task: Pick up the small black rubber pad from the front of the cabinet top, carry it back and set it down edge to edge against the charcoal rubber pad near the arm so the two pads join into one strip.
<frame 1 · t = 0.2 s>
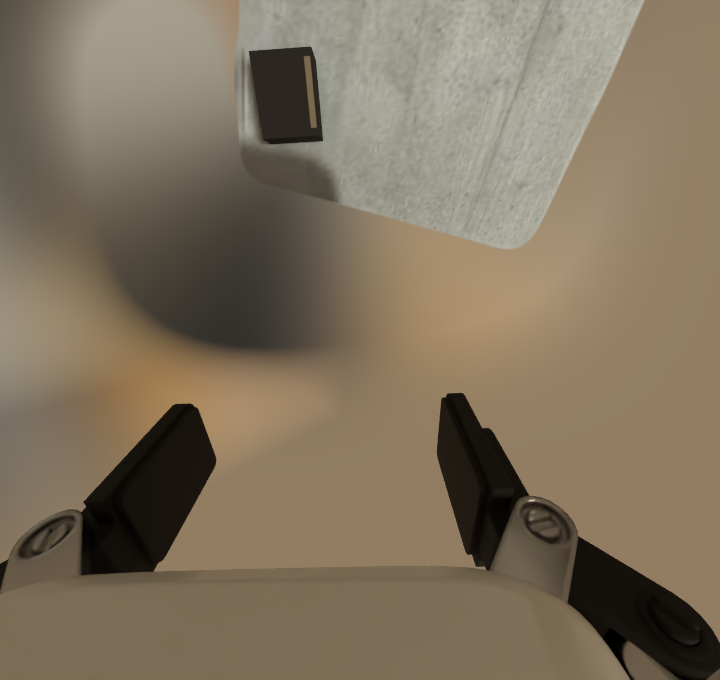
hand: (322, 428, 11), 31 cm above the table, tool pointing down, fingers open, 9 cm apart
charcoal pad: (292, 104, 32), on the table
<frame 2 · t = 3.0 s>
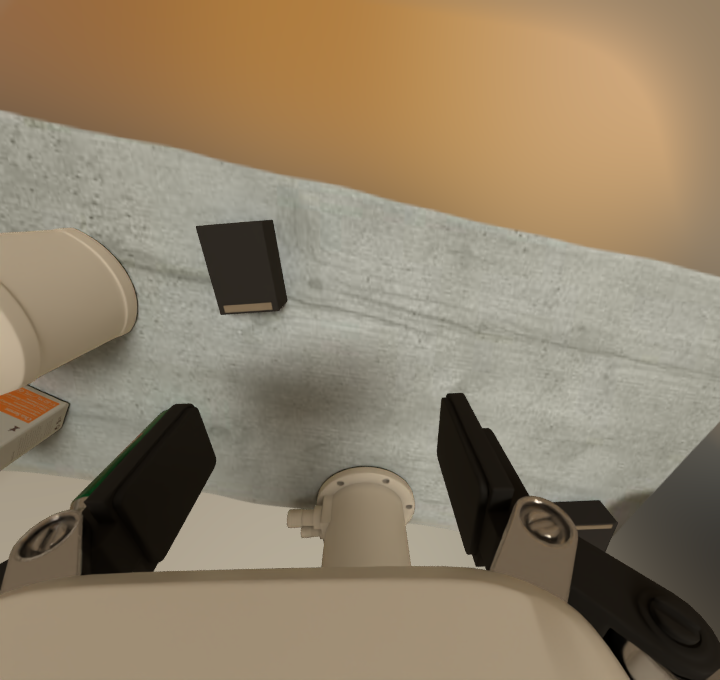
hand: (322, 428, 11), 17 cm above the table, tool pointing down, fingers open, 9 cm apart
black pad: (252, 264, 26), on the table
soda can: (183, 422, 33), on the table
jar: (75, 288, 27), on the table
charcoal pad: (567, 516, 39), on the table
cosmetic box: (39, 401, 32), on the table
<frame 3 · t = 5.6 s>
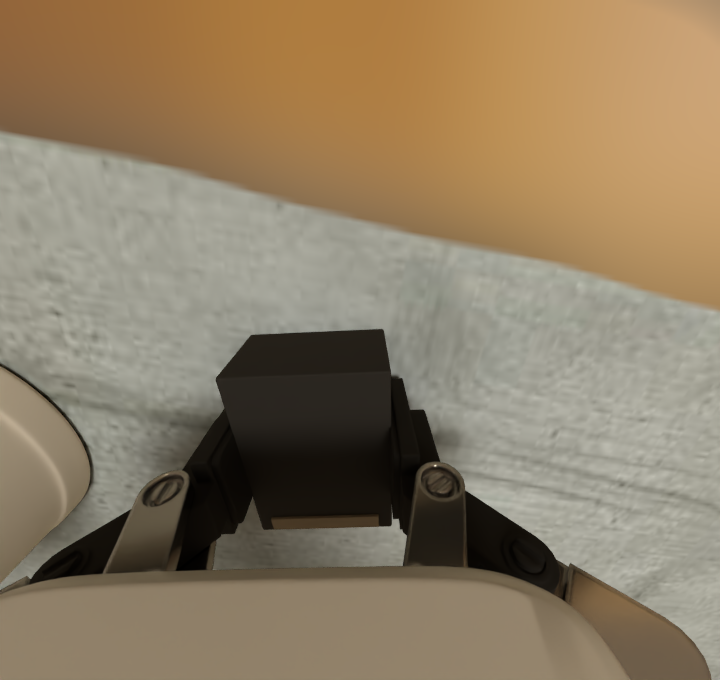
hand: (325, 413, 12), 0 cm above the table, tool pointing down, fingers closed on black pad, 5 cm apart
black pad: (326, 406, 12), on the table, touching gripper
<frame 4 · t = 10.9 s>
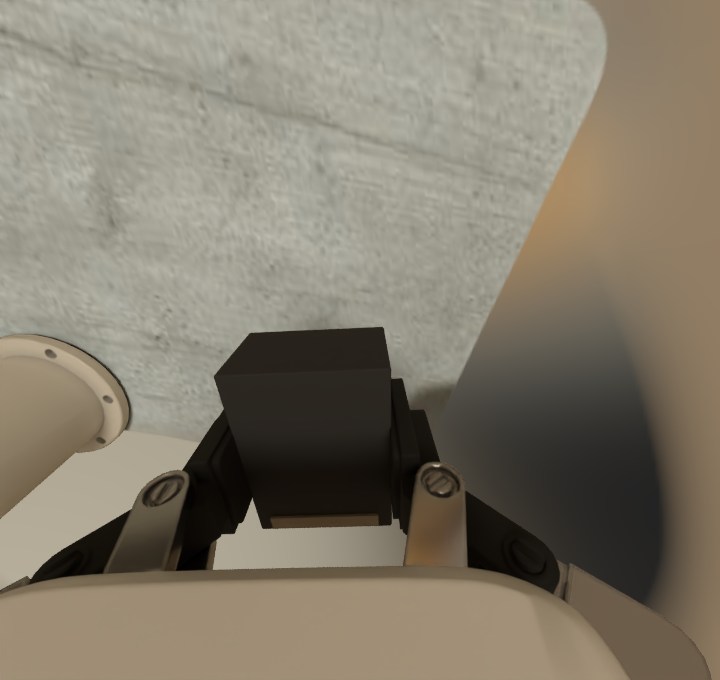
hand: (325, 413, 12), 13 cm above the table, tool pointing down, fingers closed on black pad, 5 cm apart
black pad: (325, 404, 12), point 12 cm above the table, touching gripper
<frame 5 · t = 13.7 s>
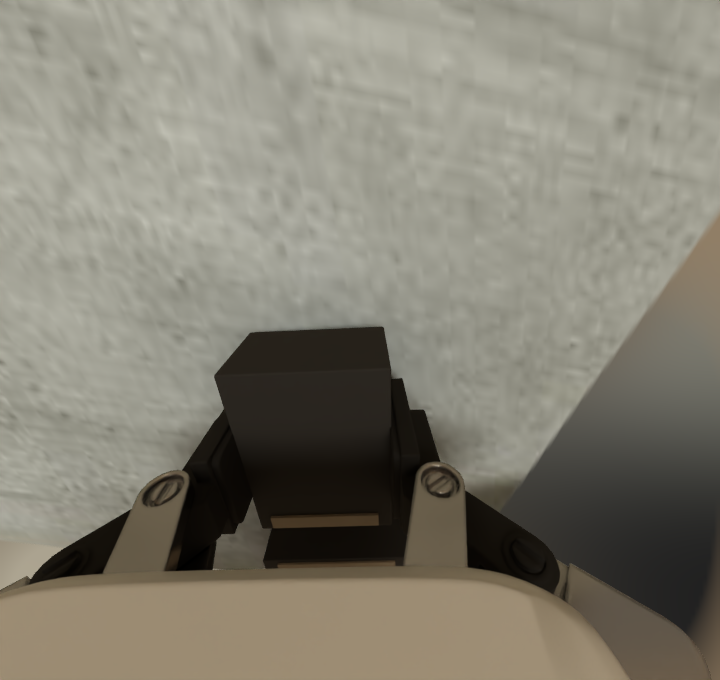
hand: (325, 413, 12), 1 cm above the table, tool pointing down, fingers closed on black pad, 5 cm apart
black pad: (325, 404, 12), point 1 cm above the table, touching gripper
charcoal pad: (343, 532, 18), on the table
when the fingers open (0 cm above the table, at t = 16.0 s): black pad stays where it is, on the table.
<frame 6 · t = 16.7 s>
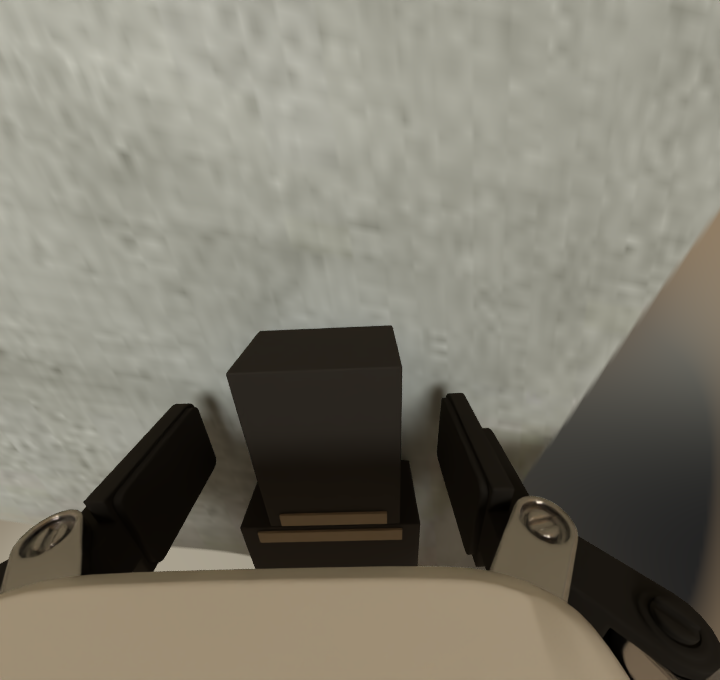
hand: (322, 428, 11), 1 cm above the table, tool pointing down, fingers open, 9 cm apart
black pad: (333, 403, 12), on the table
charcoal pad: (340, 503, 15), on the table
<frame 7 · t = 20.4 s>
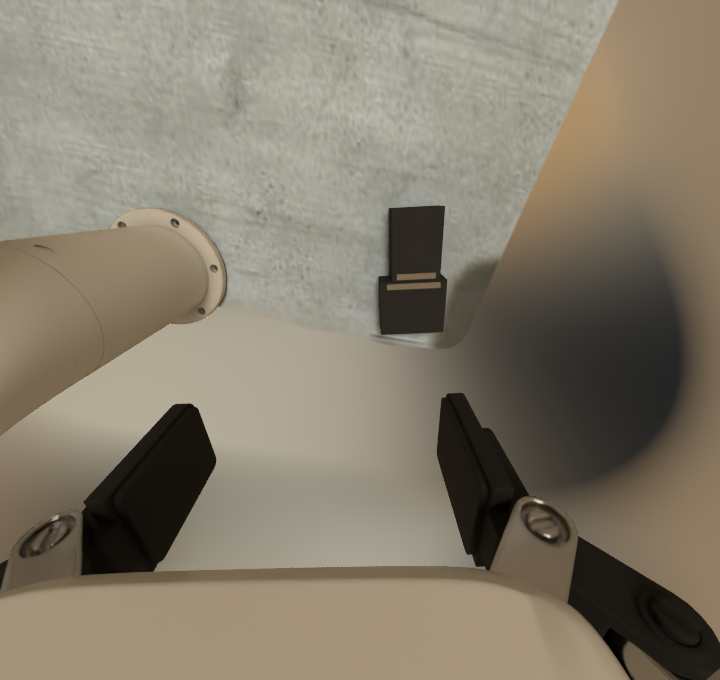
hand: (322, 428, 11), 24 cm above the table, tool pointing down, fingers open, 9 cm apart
black pad: (412, 242, 31), on the table
charcoal pad: (408, 300, 34), on the table
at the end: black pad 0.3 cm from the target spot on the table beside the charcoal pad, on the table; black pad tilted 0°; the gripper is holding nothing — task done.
